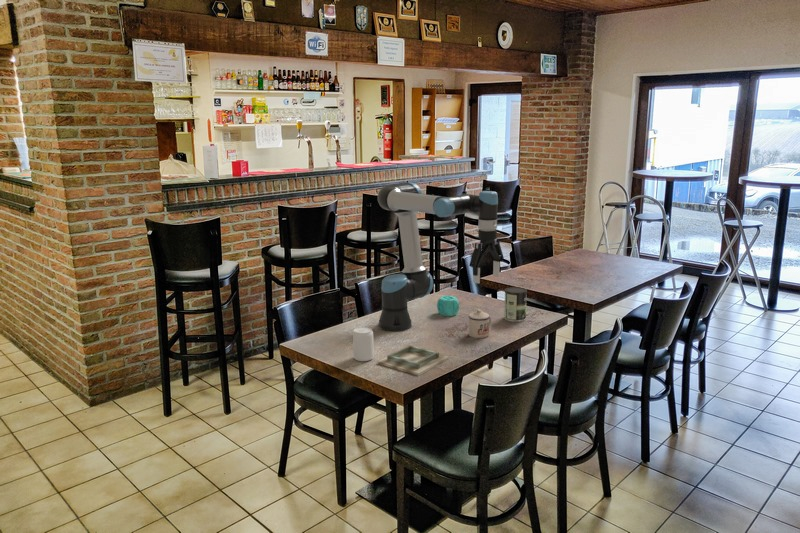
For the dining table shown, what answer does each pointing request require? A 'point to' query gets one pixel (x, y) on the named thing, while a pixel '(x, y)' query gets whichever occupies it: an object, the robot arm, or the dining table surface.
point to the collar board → (413, 360)
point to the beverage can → (363, 344)
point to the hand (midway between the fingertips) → (486, 279)
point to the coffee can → (515, 304)
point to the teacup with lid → (479, 324)
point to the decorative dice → (448, 306)
